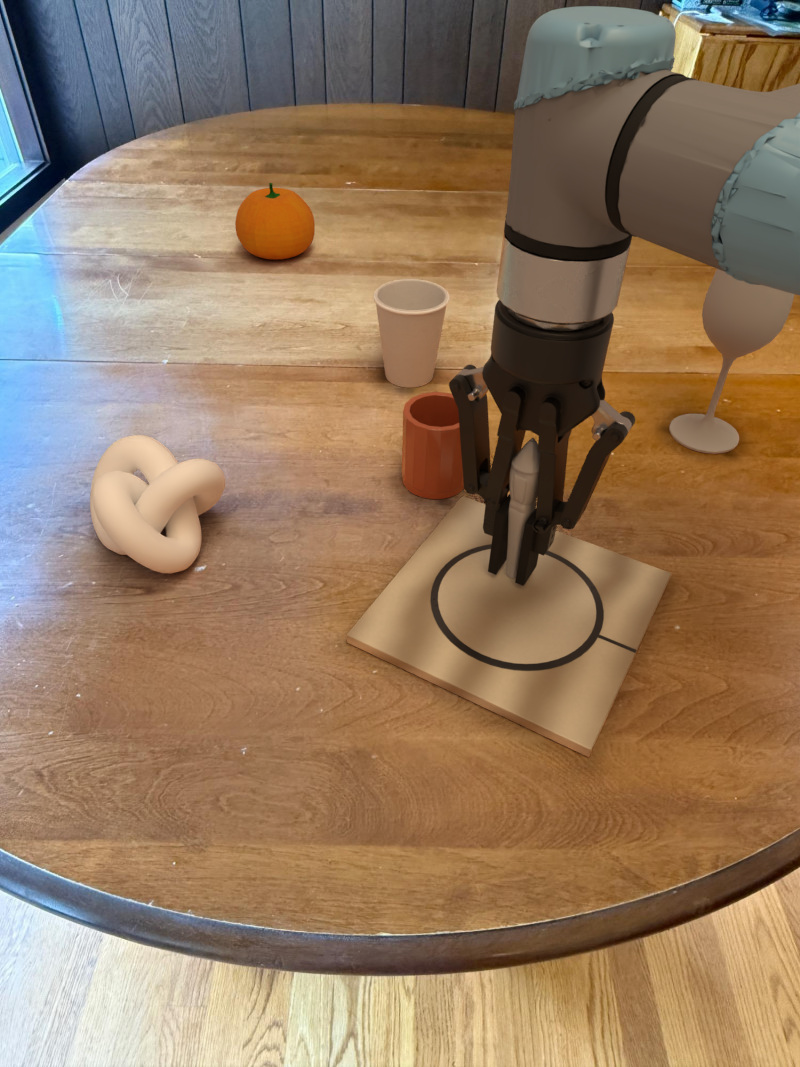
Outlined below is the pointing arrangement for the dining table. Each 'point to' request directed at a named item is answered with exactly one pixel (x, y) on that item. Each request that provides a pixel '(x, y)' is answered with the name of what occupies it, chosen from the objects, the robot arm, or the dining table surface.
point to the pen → (521, 500)
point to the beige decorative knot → (152, 502)
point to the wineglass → (731, 350)
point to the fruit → (274, 223)
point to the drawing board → (516, 626)
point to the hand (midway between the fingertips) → (512, 568)
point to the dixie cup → (410, 329)
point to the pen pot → (432, 446)
